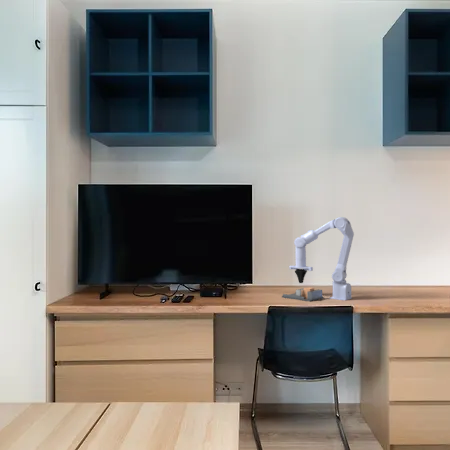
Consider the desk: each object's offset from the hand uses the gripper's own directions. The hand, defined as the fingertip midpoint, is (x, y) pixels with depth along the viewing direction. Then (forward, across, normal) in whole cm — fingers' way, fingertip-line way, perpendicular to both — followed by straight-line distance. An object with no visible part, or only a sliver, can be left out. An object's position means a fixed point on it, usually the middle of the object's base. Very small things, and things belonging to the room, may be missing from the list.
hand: (301, 282), depth 245 cm
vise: (+7, -5, +5) cm, 10 cm away
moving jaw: (+6, -5, +5) cm, 10 cm away
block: (+6, -9, +5) cm, 12 cm away
